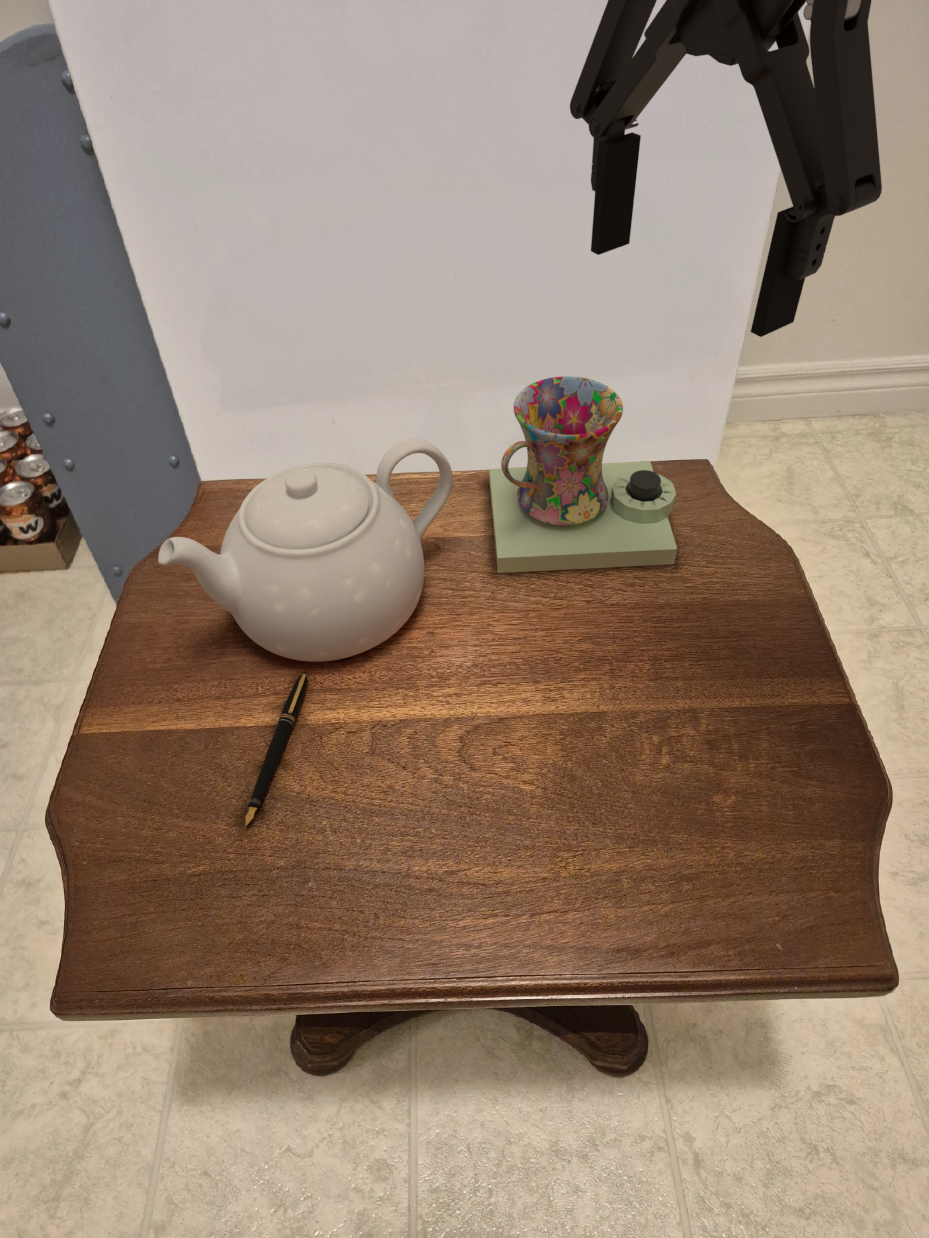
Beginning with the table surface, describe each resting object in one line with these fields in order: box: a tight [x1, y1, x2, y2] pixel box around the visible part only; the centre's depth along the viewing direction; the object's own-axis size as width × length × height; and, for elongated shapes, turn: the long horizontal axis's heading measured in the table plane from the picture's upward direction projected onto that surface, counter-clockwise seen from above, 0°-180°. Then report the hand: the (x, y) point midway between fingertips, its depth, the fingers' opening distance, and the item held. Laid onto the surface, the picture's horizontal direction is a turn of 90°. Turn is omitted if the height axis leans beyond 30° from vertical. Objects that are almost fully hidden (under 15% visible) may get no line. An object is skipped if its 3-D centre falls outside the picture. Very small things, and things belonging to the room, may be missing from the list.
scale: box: [488, 460, 678, 574], centre depth 79 cm, size 17×13×4 cm
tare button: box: [628, 470, 661, 502], centre depth 78 cm, size 3×3×2 cm
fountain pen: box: [244, 670, 309, 828], centre depth 63 cm, size 14×1×2 cm, turn 170°
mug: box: [500, 375, 624, 525], centre depth 75 cm, size 12×9×11 cm
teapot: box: [157, 438, 454, 663], centre depth 70 cm, size 19×18×14 cm
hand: (684, 285), depth 52 cm, fingers open, 13 cm apart
